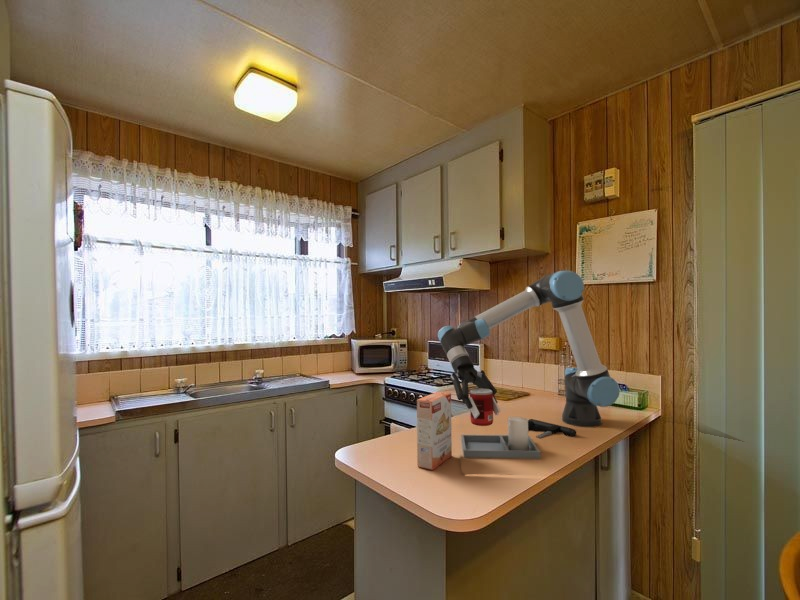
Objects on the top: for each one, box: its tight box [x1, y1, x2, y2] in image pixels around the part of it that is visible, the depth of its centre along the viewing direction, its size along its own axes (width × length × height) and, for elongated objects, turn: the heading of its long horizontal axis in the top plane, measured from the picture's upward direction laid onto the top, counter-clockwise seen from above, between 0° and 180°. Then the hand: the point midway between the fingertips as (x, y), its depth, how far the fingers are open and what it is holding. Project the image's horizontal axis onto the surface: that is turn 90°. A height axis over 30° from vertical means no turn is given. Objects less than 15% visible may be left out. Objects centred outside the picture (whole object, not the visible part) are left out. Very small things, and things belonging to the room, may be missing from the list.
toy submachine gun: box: [528, 418, 577, 439], centre depth 148 cm, size 3×20×16 cm
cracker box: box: [416, 391, 453, 471], centre depth 122 cm, size 14×6×21 cm, turn 148°
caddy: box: [460, 434, 542, 460], centre depth 130 cm, size 24×16×3 cm, turn 84°
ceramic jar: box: [507, 416, 530, 451], centre depth 129 cm, size 7×7×10 cm
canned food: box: [469, 387, 494, 427], centre depth 131 cm, size 8×8×11 cm
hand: (487, 414), depth 128 cm, fingers closed on canned food, 8 cm apart
